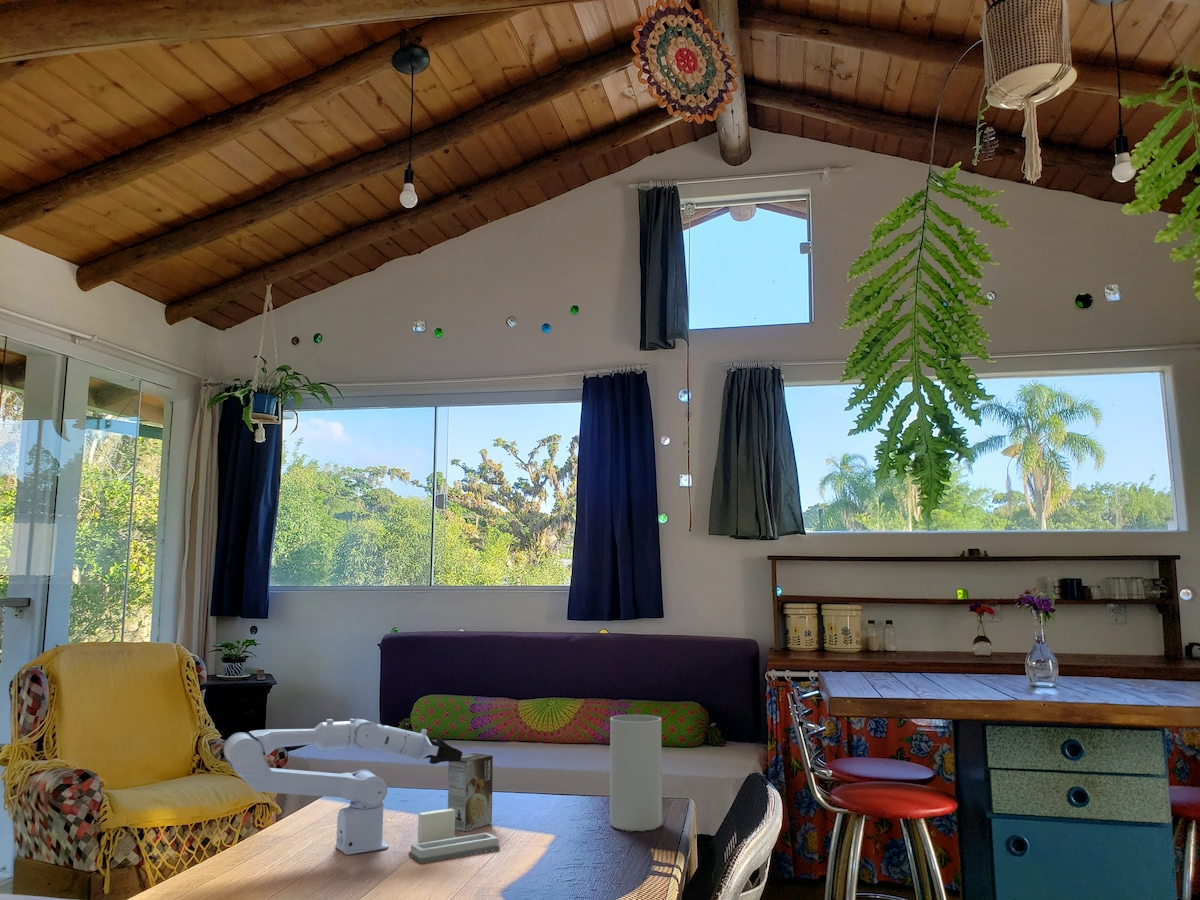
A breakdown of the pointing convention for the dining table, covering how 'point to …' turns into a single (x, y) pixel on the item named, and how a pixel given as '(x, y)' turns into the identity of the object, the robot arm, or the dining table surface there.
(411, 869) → the dining table surface
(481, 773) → the coffee box
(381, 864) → the dining table surface
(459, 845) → the track base
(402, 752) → the robot arm
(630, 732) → the cylinder vase
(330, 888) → the dining table surface
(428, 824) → the door panel
